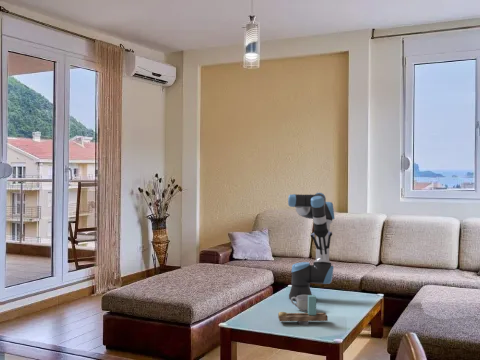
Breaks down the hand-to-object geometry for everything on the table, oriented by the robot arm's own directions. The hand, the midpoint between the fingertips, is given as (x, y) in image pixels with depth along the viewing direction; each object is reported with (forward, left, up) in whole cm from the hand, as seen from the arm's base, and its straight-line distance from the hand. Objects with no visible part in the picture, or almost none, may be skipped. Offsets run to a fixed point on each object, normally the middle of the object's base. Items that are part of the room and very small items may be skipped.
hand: (324, 259), depth 313 cm
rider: (+16, -23, -27) cm, 39 cm away
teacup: (-8, -10, -31) cm, 33 cm away
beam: (+13, -27, -31) cm, 43 cm away
